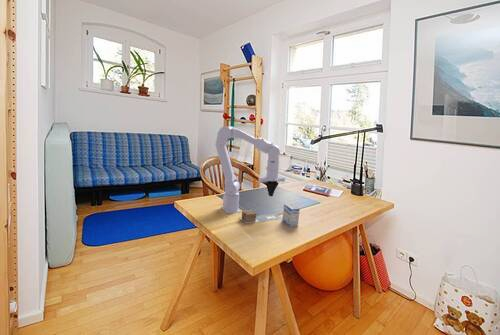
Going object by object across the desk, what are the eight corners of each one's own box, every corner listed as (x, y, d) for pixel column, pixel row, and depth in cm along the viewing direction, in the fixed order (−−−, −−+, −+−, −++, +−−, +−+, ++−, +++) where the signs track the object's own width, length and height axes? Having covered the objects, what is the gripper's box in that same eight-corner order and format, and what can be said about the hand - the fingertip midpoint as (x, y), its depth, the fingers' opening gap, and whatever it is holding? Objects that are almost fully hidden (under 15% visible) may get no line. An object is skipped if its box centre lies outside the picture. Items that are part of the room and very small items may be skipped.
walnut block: (241, 218, 133) (242, 210, 132) (250, 217, 135) (251, 209, 134) (246, 222, 128) (246, 214, 128) (255, 221, 131) (256, 213, 130)
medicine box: (282, 221, 134) (283, 204, 132) (290, 220, 136) (291, 203, 134) (289, 227, 127) (291, 209, 125) (298, 226, 128) (299, 208, 127)
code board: (237, 218, 133) (237, 218, 133) (274, 214, 143) (274, 213, 143) (244, 224, 126) (244, 224, 126) (282, 219, 136) (282, 219, 136)
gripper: (263, 171, 130) (261, 199, 132) (289, 170, 136) (287, 196, 139) (256, 168, 136) (255, 195, 138) (281, 167, 142) (279, 193, 145)
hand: (270, 195), depth 139 cm, fingers closed
